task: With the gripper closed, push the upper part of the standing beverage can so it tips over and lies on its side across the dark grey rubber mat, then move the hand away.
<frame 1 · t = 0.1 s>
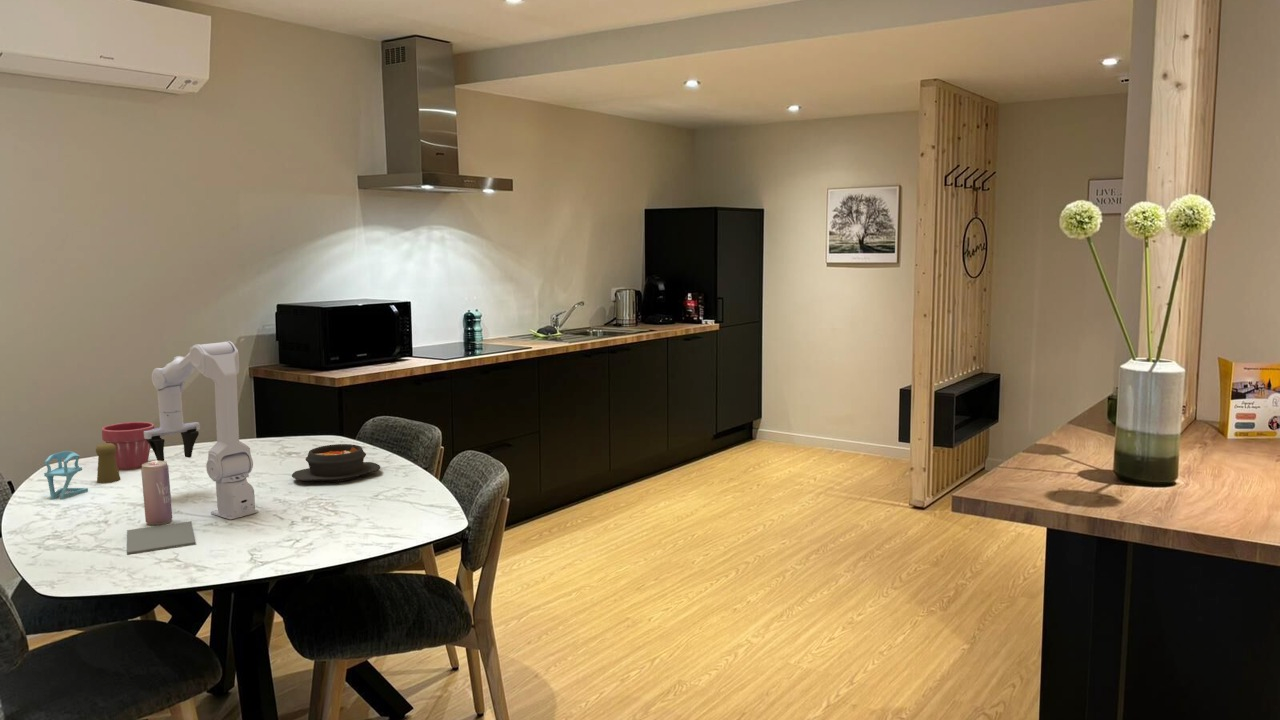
hand: (174, 459, 254), 10 cm above the table, tool pointing down, fingers open, 7 cm apart
beverage can: (159, 522, 232), on the table
casserole: (337, 478, 273), on the table
cork: (108, 481, 271), on the table
chair: (65, 495, 257), on the table
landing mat: (160, 538, 220), on the table
plant pot: (131, 466, 288), on the table
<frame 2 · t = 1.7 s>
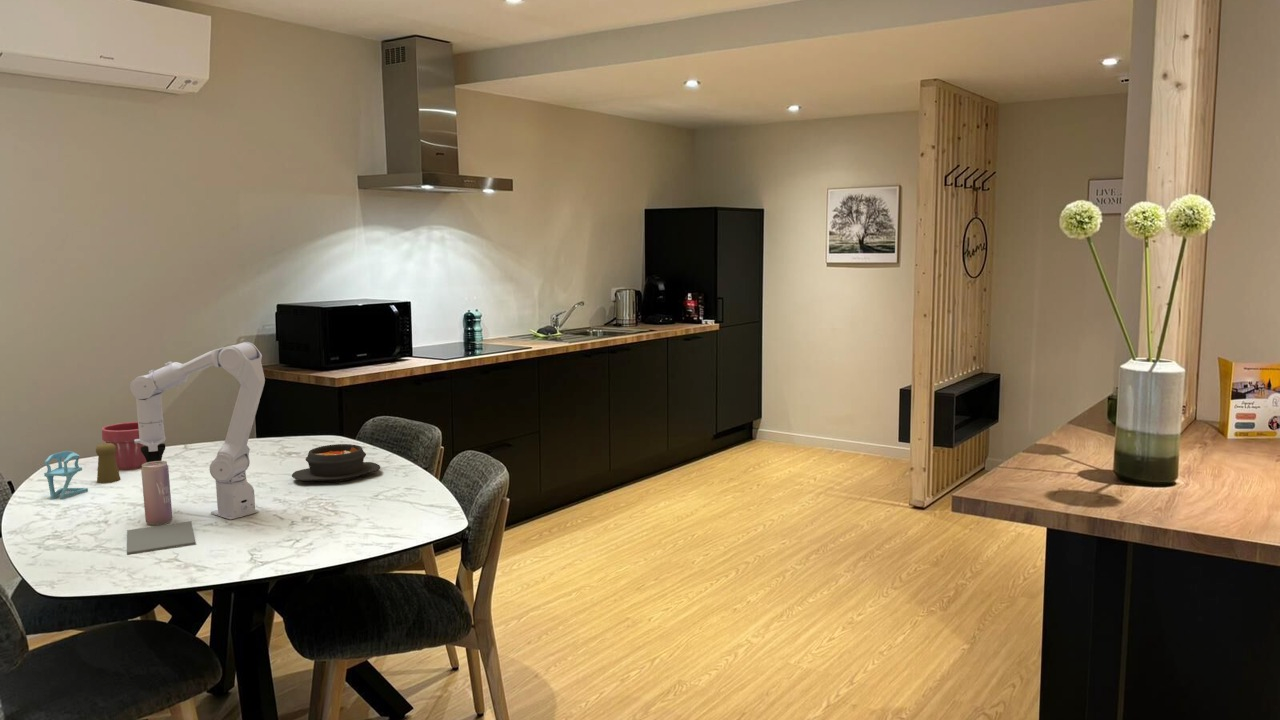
hand: (155, 473, 238), 10 cm above the table, tool pointing down, fingers closed
nothing on the table moved.
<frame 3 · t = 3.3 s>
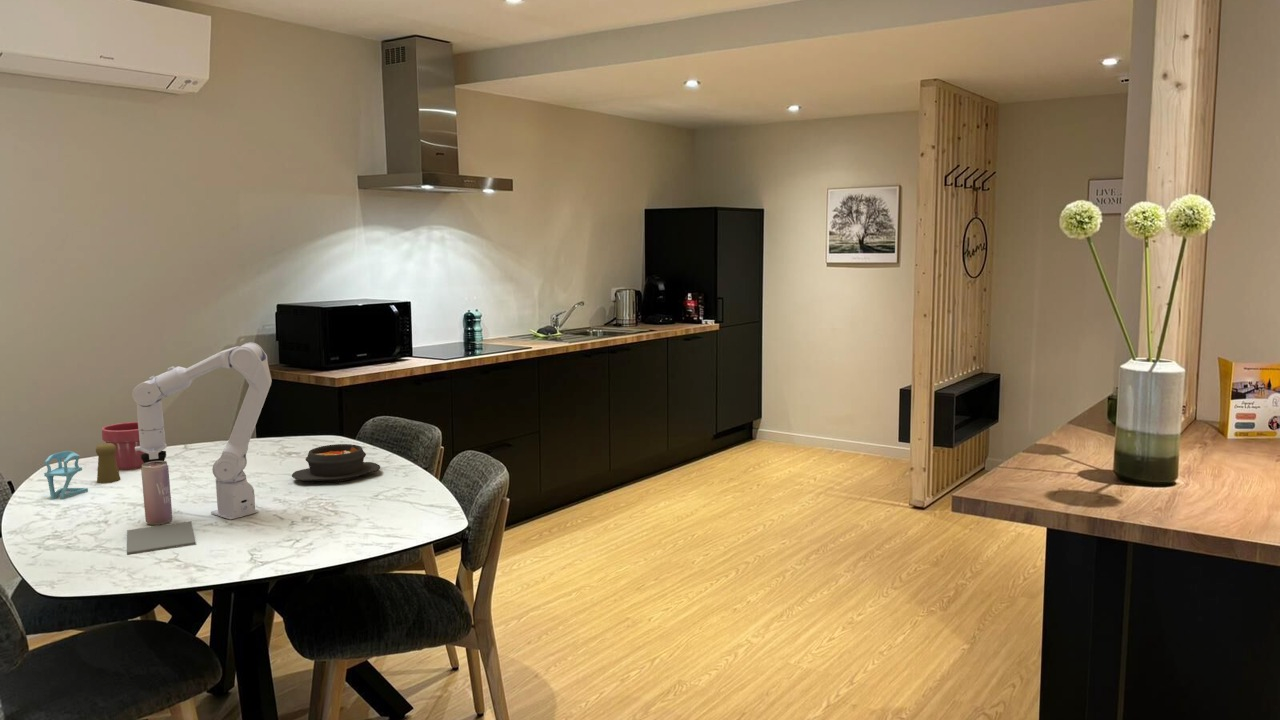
hand: (155, 481, 234), 9 cm above the table, tool pointing down, fingers closed
beverage can: (159, 522, 232), on the table, touching gripper
everything else where it was.
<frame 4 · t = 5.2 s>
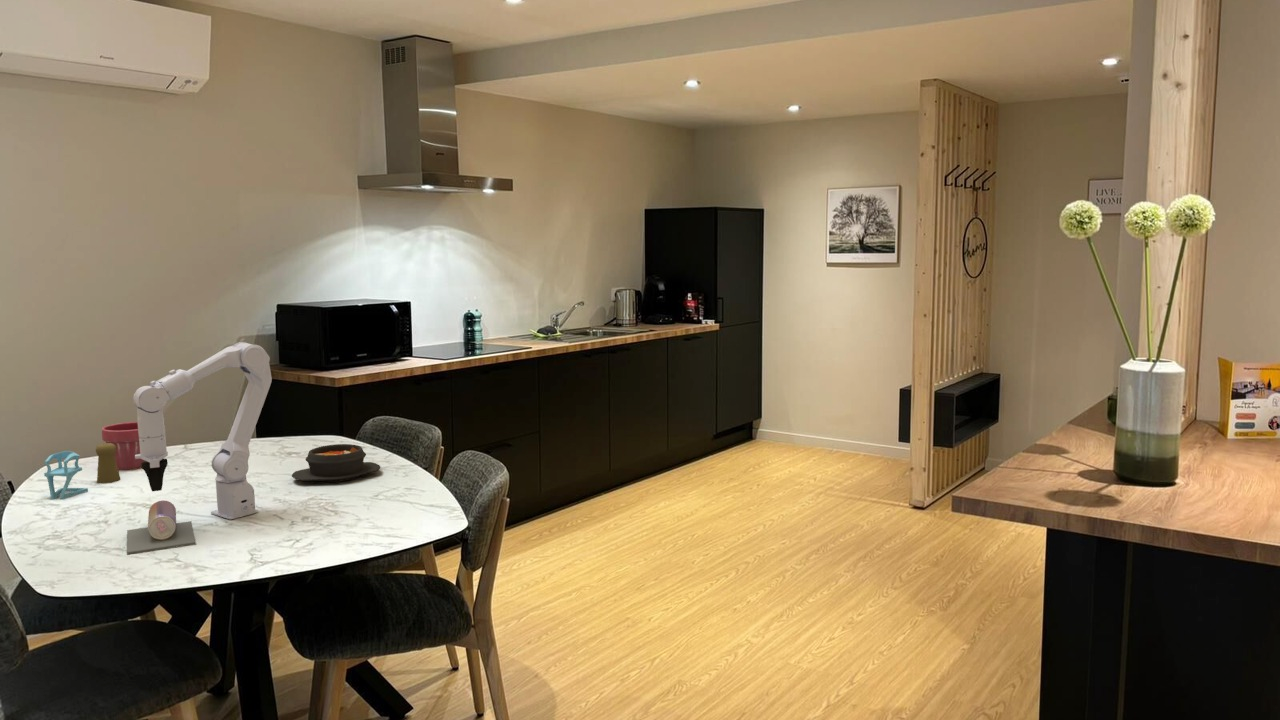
hand: (156, 490, 226), 9 cm above the table, tool pointing down, fingers closed
beverage can: (162, 511, 229), point 3 cm above the table, touching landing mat
everything else where it was.
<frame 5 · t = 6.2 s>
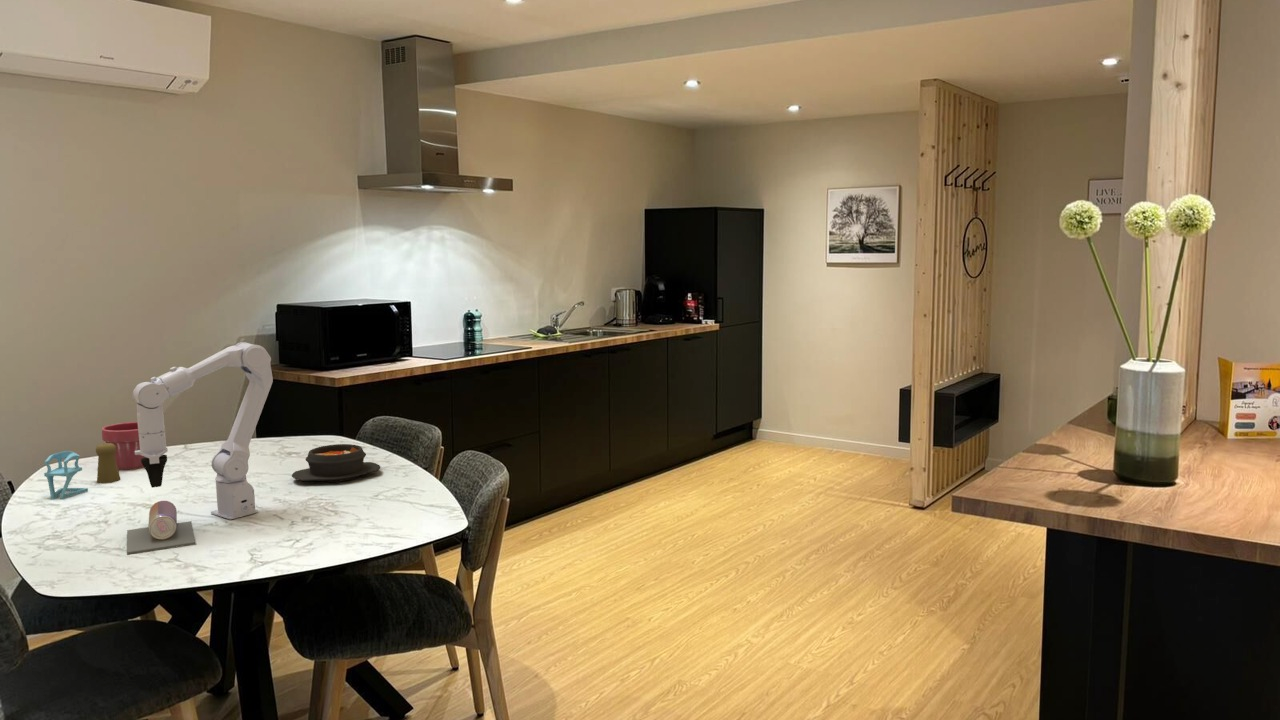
hand: (156, 486, 226), 10 cm above the table, tool pointing down, fingers closed
nothing on the table moved.
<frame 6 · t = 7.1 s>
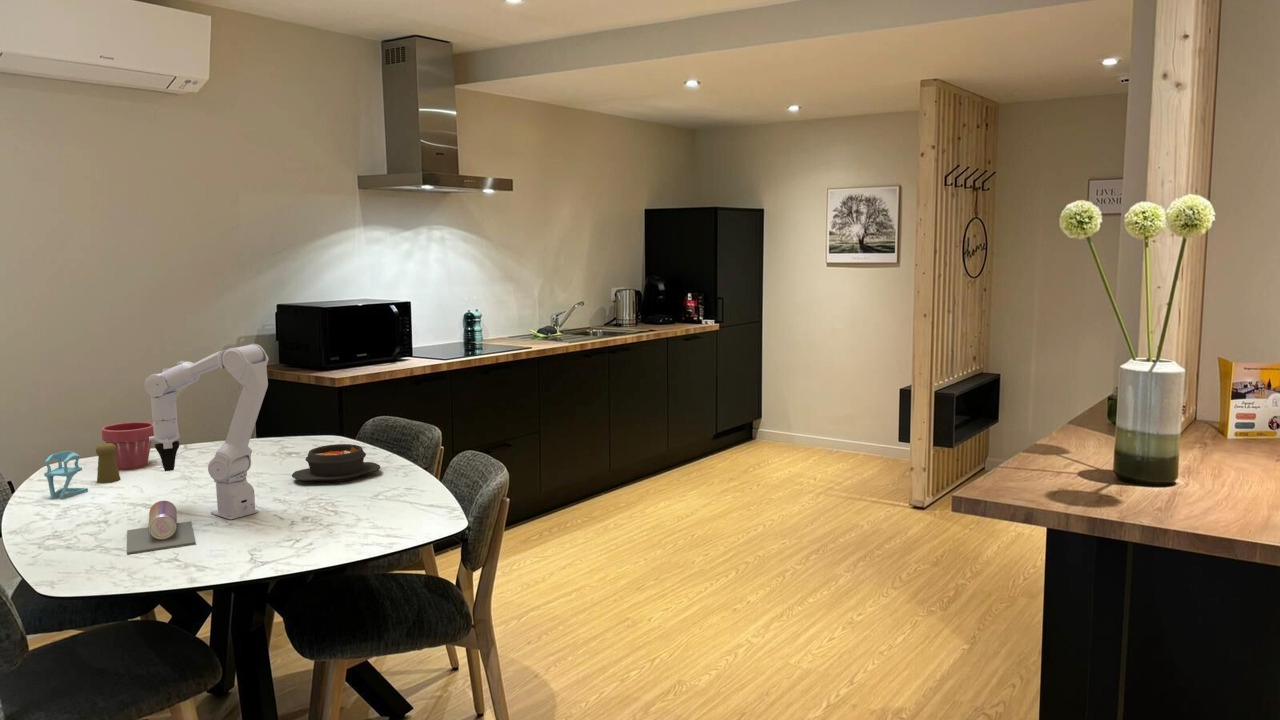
hand: (169, 470, 241), 10 cm above the table, tool pointing down, fingers closed
nothing on the table moved.
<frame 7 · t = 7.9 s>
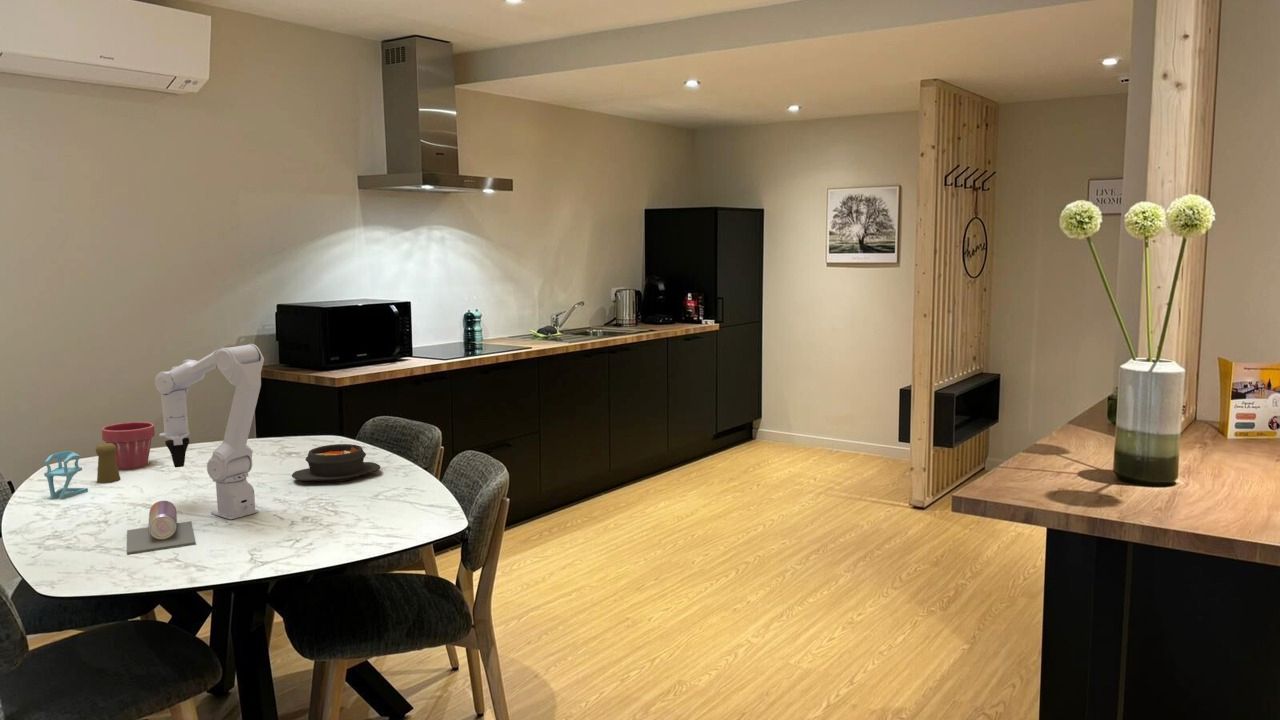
hand: (179, 466, 245), 10 cm above the table, tool pointing down, fingers closed
nothing on the table moved.
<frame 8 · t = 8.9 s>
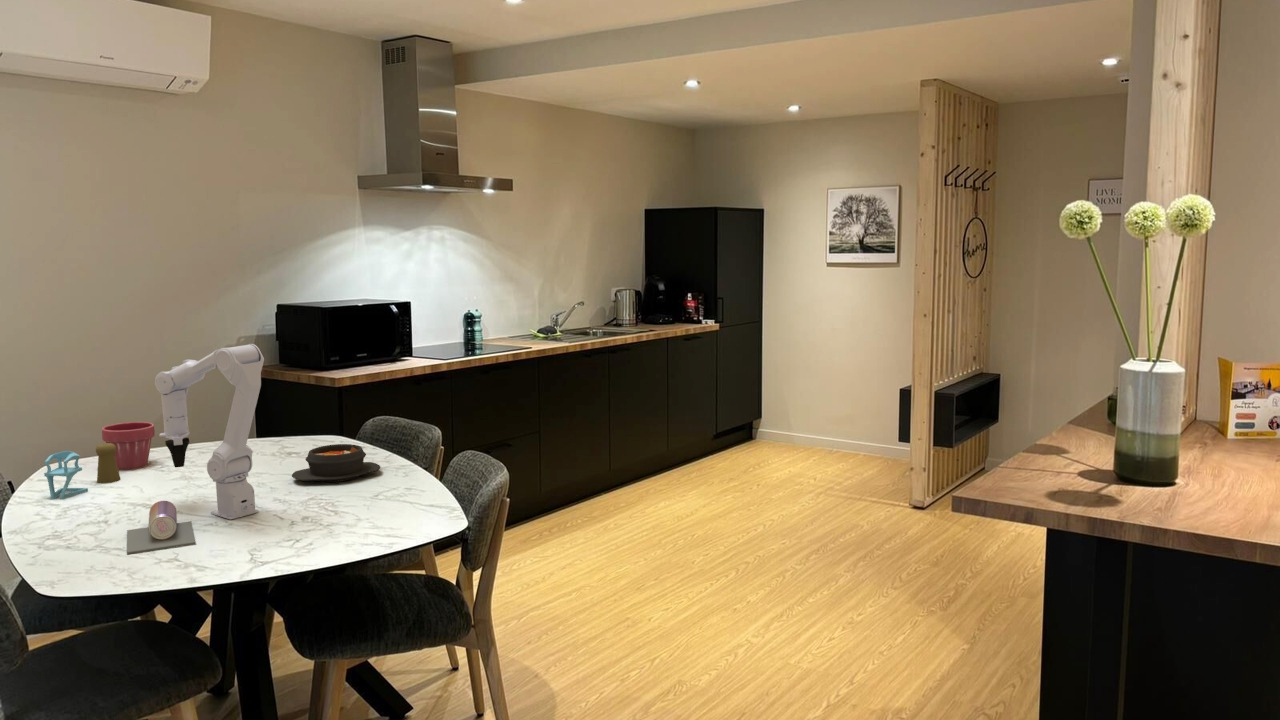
hand: (179, 466, 245), 10 cm above the table, tool pointing down, fingers closed
nothing on the table moved.
at the end: beverage can tilted 89°; beverage can touching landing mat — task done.
